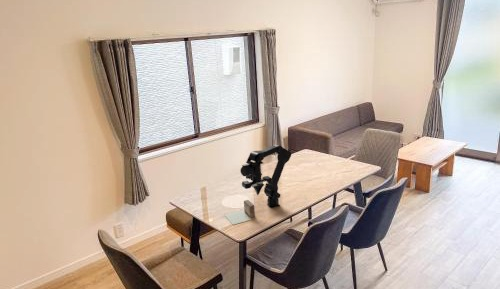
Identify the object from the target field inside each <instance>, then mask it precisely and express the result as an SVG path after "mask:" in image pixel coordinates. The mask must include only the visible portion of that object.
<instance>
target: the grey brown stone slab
mask: <svg viewBox="0 0 500 289" xmlns="http://www.w3.org/2000/svg"><path fill="white" fill-rule="evenodd" d="M243 208H244V211H243V212H244V213H245V214H246V215H247V216H248V217H249V218H250V219H251V218H255V217H256V212H255V210H256V209H255V204H254V203H253V202H251V201H250V199H246V200H243Z"/></svg>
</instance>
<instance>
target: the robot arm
mask: <svg viewBox="0 0 500 289" xmlns="http://www.w3.org/2000/svg"><path fill="white" fill-rule="evenodd" d="M274 154H277V155H276V156H277V157H276V158H277V161H276V162H277V163H276V166H275V168H274V171H273V173H272V175H271V177H270V176H269V175H266V176H265V175H264V176H263V173H262V168H261V167H262V165H263V164H264V162H263V160H264V159H265V158H266V157H268V156H272V155H274ZM291 157H292V152H291V151H290V150H288V149H286V148H284V147H283V146H282V145H279V144H273V145H272V146H269V147H267V148H264V149H262V150H253V151H251V152H250V153H249V155H248V158H247V159H246V162H245V163H246V164H242V165H241V166H242V167H241V168H240V174H241V175H242V176H243V177H245V179H246V180H244V181H242V183H241V186H242V187H243V188H244V189H246V190H247V189H250V188H253V189H254V192H255V193H256V195H257V196H259V195H260V193H261V191H262V188H263V187H264V188H263V192H264V194H265V196H266V197H267V199H266V200H267V203H266V205H267V206H268V207H270V209H273V208H277V207H280V206H281V205H280V203H279V199H280V198H281V194H280V192H278V191H279V186H278V184H279V181H280V178H281V176H282V173H283V170H284V168H285V165H286V164H287V163H288V162H289V161H290V159H291ZM247 179H248V180H247ZM249 180H250V181H249ZM264 182H266V183H265V184H264Z"/></svg>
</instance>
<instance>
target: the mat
mask: <svg viewBox="0 0 500 289" xmlns="http://www.w3.org/2000/svg"><path fill="white" fill-rule="evenodd" d="M224 217H225V218H226V220H228V221H229V223H230V224H232V226H235V225H237V224H242V223H245V222H249V221H251V220H252V219H251V218H250V217H249V216H248V215H247V214H246V213H245V211H243V210H238V211H235V212H231V213H228V214H224Z"/></svg>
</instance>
